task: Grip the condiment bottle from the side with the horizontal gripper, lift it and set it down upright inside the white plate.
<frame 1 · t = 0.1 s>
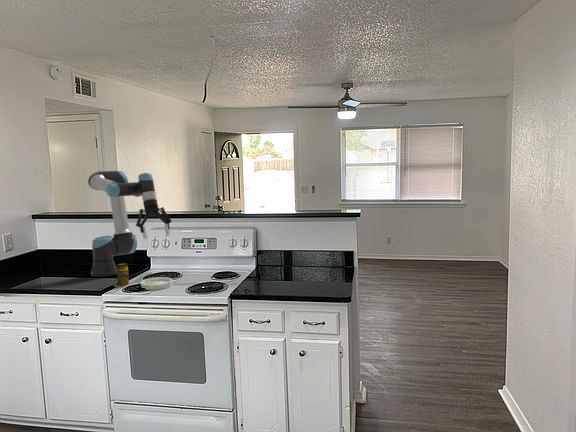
hand: (156, 237, 255), 28 cm above the countertop, tool tilted 20°, fingers open, 13 cm apart
condiment: (121, 285, 260), on the countertop
white plate: (157, 285, 258), on the countertop
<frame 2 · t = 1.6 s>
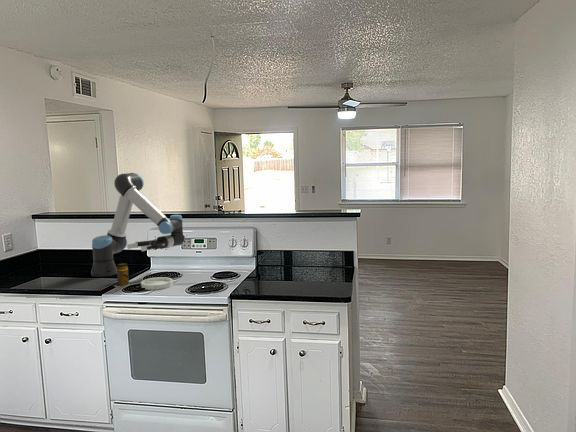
hand: (134, 247, 265), 20 cm above the countertop, tool horizontal, fingers open, 13 cm apart
nothing on the countertop moved.
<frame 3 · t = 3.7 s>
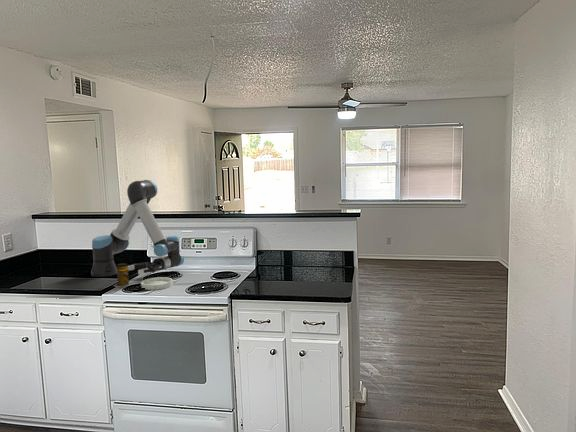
hand: (131, 270, 264), 7 cm above the countertop, tool horizontal, fingers open, 13 cm apart
nothing on the countertop moved.
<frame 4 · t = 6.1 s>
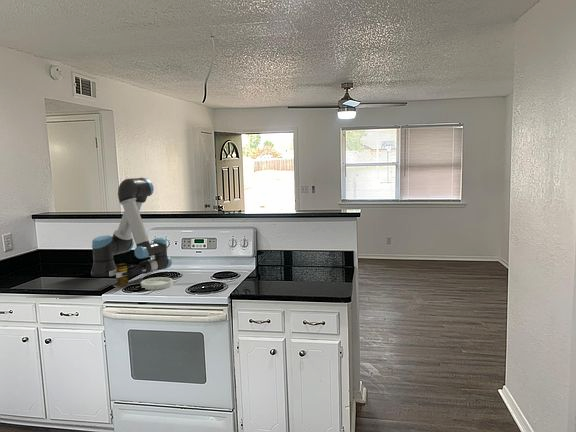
hand: (113, 274, 255), 7 cm above the countertop, tool horizontal, fingers closed on condiment, 6 cm apart
condiment: (121, 285, 260), on the countertop, touching gripper
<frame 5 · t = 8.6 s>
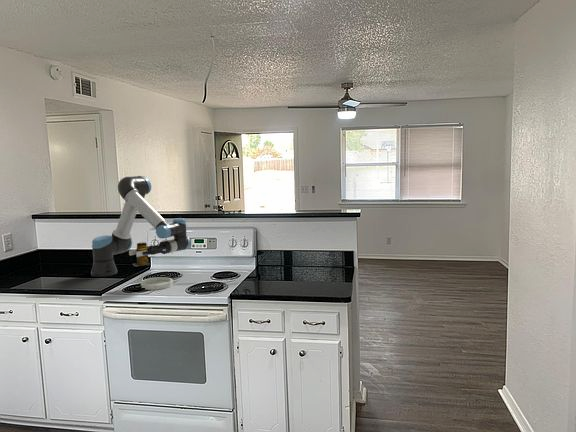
hand: (133, 253, 251), 19 cm above the countertop, tool horizontal, fingers closed on condiment, 6 cm apart
condiment: (141, 264, 256), point 12 cm above the countertop, touching gripper
when the fingers open (9 cm above the countertop, at t = 11.5 s): condiment drops 1 cm, resting on white plate.
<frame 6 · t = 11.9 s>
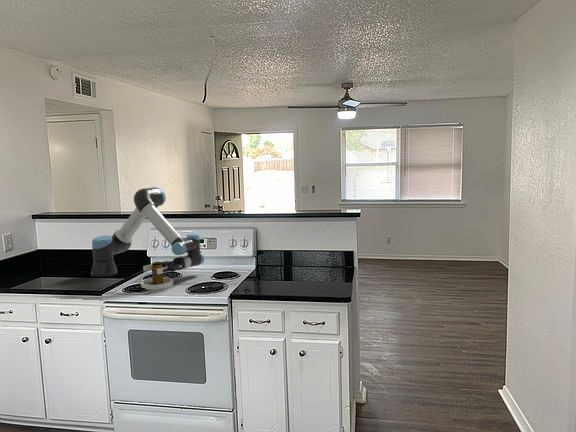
hand: (150, 270, 253), 9 cm above the countertop, tool horizontal, fingers open, 11 cm apart
condiment: (156, 284, 258), point 1 cm above the countertop, touching white plate
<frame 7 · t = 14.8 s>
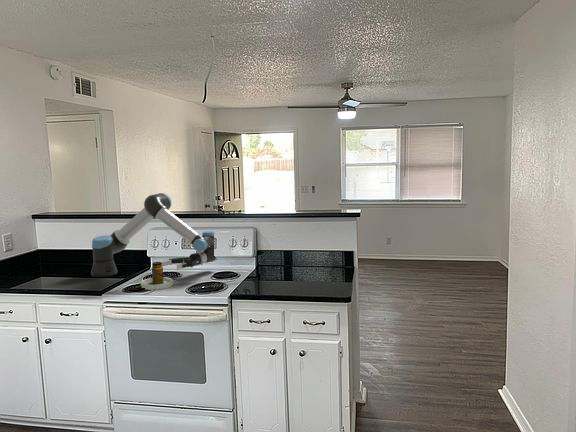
hand: (169, 265, 264), 10 cm above the countertop, tool horizontal, fingers open, 13 cm apart
nothing on the countertop moved.
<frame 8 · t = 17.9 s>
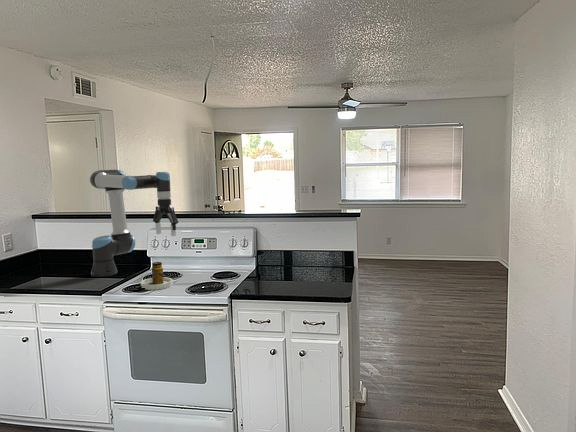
hand: (166, 234, 267), 27 cm above the countertop, tool pointing down, fingers open, 13 cm apart
nothing on the countertop moved.
at the end: condiment inside the target area on the white plate (0.4 cm from its centre), point 0.8 cm above the white plate's base; condiment tilted 0°; the gripper is holding nothing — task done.
